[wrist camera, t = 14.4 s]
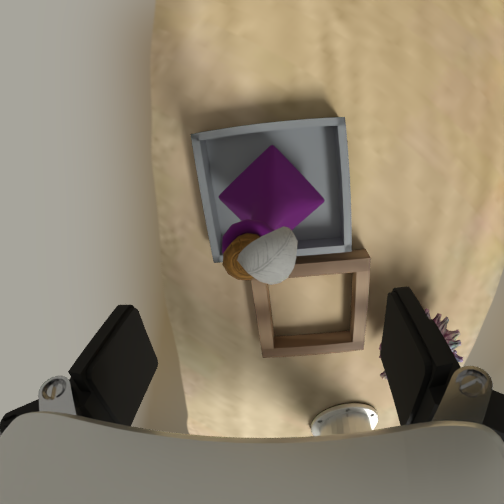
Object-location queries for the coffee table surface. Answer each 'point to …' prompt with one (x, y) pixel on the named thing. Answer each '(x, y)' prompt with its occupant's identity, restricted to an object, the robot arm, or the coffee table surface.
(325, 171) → the tray
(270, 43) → the coffee table surface
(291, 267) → the perfume bottle
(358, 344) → the square wooden frame
